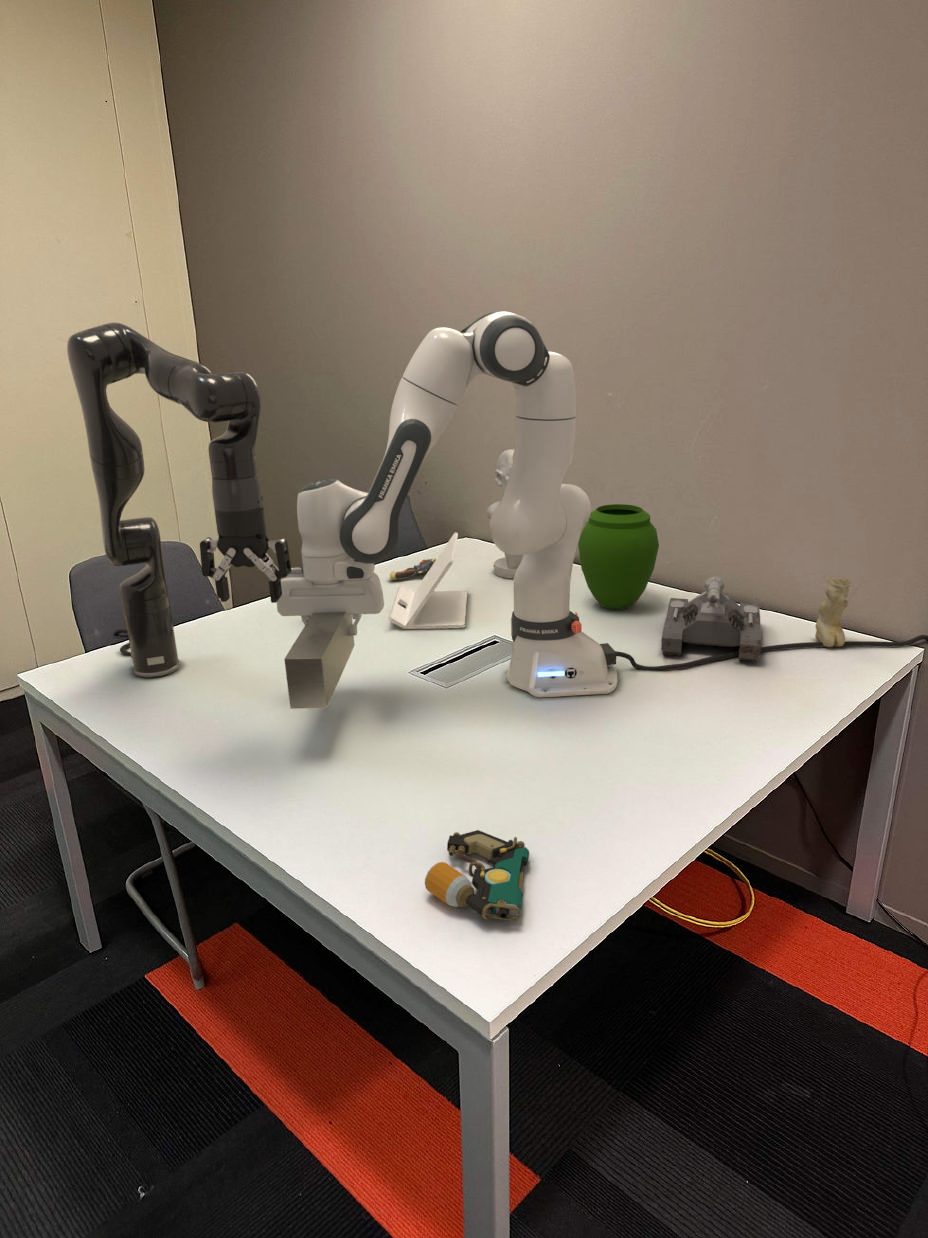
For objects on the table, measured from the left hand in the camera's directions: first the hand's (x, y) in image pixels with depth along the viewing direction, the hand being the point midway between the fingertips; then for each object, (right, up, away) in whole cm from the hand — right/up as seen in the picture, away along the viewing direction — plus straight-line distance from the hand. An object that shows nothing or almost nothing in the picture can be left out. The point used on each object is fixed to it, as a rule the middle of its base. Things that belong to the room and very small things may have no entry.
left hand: (250, 600), depth 140 cm
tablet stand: (+27, -1, +74) cm, 78 cm away
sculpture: (+115, -9, +47) cm, 125 cm away
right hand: (+10, -6, +25) cm, 27 cm away
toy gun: (+21, +10, +104) cm, 107 cm away
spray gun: (+38, -38, -26) cm, 60 cm away
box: (+10, -13, +17) cm, 23 cm away
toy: (+90, -8, +51) cm, 104 cm away
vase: (+73, 0, +74) cm, 104 cm away
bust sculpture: (+52, +9, +99) cm, 112 cm away
